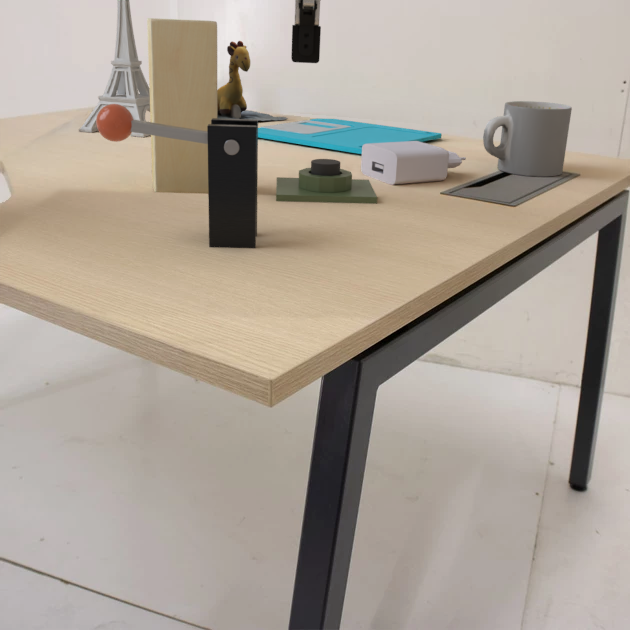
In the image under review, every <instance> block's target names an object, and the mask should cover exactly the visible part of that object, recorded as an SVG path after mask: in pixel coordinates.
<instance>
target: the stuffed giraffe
mask: <svg viewBox="0 0 630 630" xmlns="http://www.w3.org/2000/svg"><path fill="white" fill-rule="evenodd" d="M226 52H227V54H228V55H229V56H230V58H229V64H228V76H229V78H228V82H227V83H225V84H224V85H222V86H221V87H219V88H217V118H221V119H255V120H258V122H259V121H261V122H265V121H285V120H288V119H289V118H288V117H286V116H273V115H270V114H269V113H263V112H258V111H254V110H248V109H247V108H248V105H247V101H246V99H245V97H244V95H243V92H244V90H243V86H242V80H241V77H240V73H239V69H241V71H242V72H246V73H248V71H249V70H250V68H251V57H250V53H249V51H248V49H247V46H246V45H245V44H244V42H243V41H241V40H238V41H237V43H236V42H235V41H230V42H229V45H227V47H226Z"/></svg>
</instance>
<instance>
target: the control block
mask: <svg viewBox="0 0 630 630" xmlns="http://www.w3.org/2000/svg"><path fill="white" fill-rule="evenodd" d="M275 189H276V190H275V201H276V202H293V203H295V202H296V203H297V202H298V203H331V204H332V203H334V204H336V203H337V204H372V205H373V204H375V205H376V204H378V196H377V194H376V192H375V190H374V188H373V186H372V183H371V181H370V180H369V179H359V178H358V179H355V178H353V173H352V172H351V171H349V170H347V169H343V168H340V175H336V176H320V175H313V174H311V167H305V168H303V169H299V170H298V177H283V176H282V177H281V176H280V177H276V188H275Z"/></svg>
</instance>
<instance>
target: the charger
mask: <svg viewBox="0 0 630 630" xmlns="http://www.w3.org/2000/svg"><path fill="white" fill-rule="evenodd" d="M466 160H467V158H466V157H465V156H464V157H463V156H462V157H460V156H459V155H458V153H457V152H454V151H450V150H447V149H445V148H444V147H442V146H437V145H433V144H430V143H426V142H424V141H423V142H419V141H405V142H386V143H368V144H364V145H363V146H362V154H361V158H360V161H361V162H360V171H361V173H362V175H364V176H366V177H369V178H372V179H374V180H377V181H380V182H382V183H385V184H388V185H394V186H395V185H404V184H417V183H429V182H440V181H444V180H446V178H447V177H448V170H449V169H456V168H458V167H459V166H461V165H462V163H463V161H466Z"/></svg>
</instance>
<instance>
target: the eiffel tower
mask: <svg viewBox="0 0 630 630" xmlns="http://www.w3.org/2000/svg"><path fill="white" fill-rule="evenodd" d="M116 3H117V5H116V7H117V9H116V10H117V12H116V32H115V33H116V36H115V48H114V57H113V60H111V61H110V64H111V65H112V68H111V72H110V75H109V78H108V82H107V84H106V87H105V90H104V92H103V93H102V95H98V96H97V98H98V100H99V101H98V103H97V104H96V106H95V107H94V108H93V110H92V111H91V113H90V114H89V115H88V117H87V118H86V120H85V121H84V123H83V124H82V125H81V126H80V128H78V132H83V133H95V132H99V131H98V129H97V126H96V118H97V115H98V113H99V111H100V110H101V109H102V108H103V107H105V106H106V105H109V104H119V105H122V106H124V107H125V108H127V109H128V110H129V111H130V113H131V114H132V116H133V119H134V120H140V121H146V122H147V120H146V113H147V112H149V113H150V90H149V84H148V82H147V80H146V78H145V75H144V73H143V70H142V68H141V65H142V63H143V61H142V60H139V56H138V51H137V46H136V40H135V33H134V28H133V21H132V11H131V5H130V0H117V2H116ZM149 136H150V137H151V135H147V134H141V133H135V132H132V133H131V135H130V136H129V137H137V138H138V137H139V138H146V137H149Z"/></svg>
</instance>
